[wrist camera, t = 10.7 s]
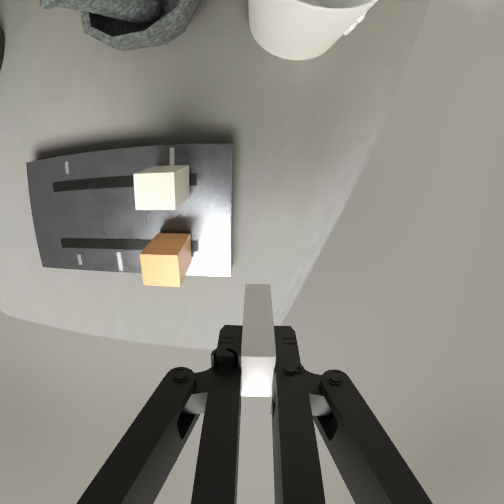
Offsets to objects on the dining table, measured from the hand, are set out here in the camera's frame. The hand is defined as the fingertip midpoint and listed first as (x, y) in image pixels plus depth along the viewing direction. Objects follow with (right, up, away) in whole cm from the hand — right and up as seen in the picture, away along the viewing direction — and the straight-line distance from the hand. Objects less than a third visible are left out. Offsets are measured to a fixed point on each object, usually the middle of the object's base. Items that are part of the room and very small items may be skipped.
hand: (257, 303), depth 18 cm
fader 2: (-7, +4, +7) cm, 11 cm away
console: (-13, +8, +9) cm, 17 cm away
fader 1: (-7, +9, +5) cm, 13 cm away
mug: (+3, +26, +1) cm, 26 cm away
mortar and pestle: (-10, +25, +1) cm, 27 cm away
